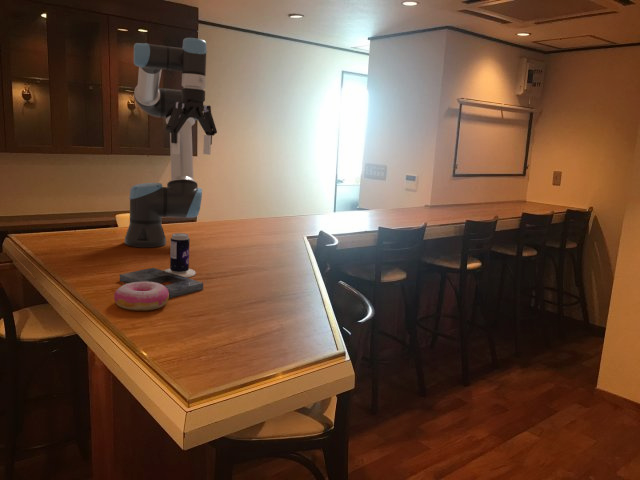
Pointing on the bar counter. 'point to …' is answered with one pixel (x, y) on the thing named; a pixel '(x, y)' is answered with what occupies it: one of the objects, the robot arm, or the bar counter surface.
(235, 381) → the bar counter surface
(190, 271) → the coaster
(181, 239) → the beverage can
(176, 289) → the grey board with hole
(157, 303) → the donut
